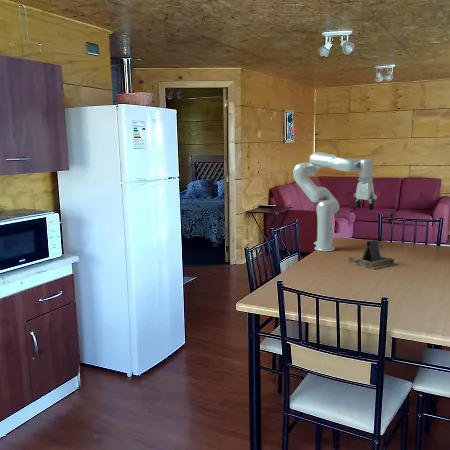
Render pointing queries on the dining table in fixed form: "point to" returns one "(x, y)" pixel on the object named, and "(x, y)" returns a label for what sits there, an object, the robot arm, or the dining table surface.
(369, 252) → the phone stand
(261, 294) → the dining table surface
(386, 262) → the board
